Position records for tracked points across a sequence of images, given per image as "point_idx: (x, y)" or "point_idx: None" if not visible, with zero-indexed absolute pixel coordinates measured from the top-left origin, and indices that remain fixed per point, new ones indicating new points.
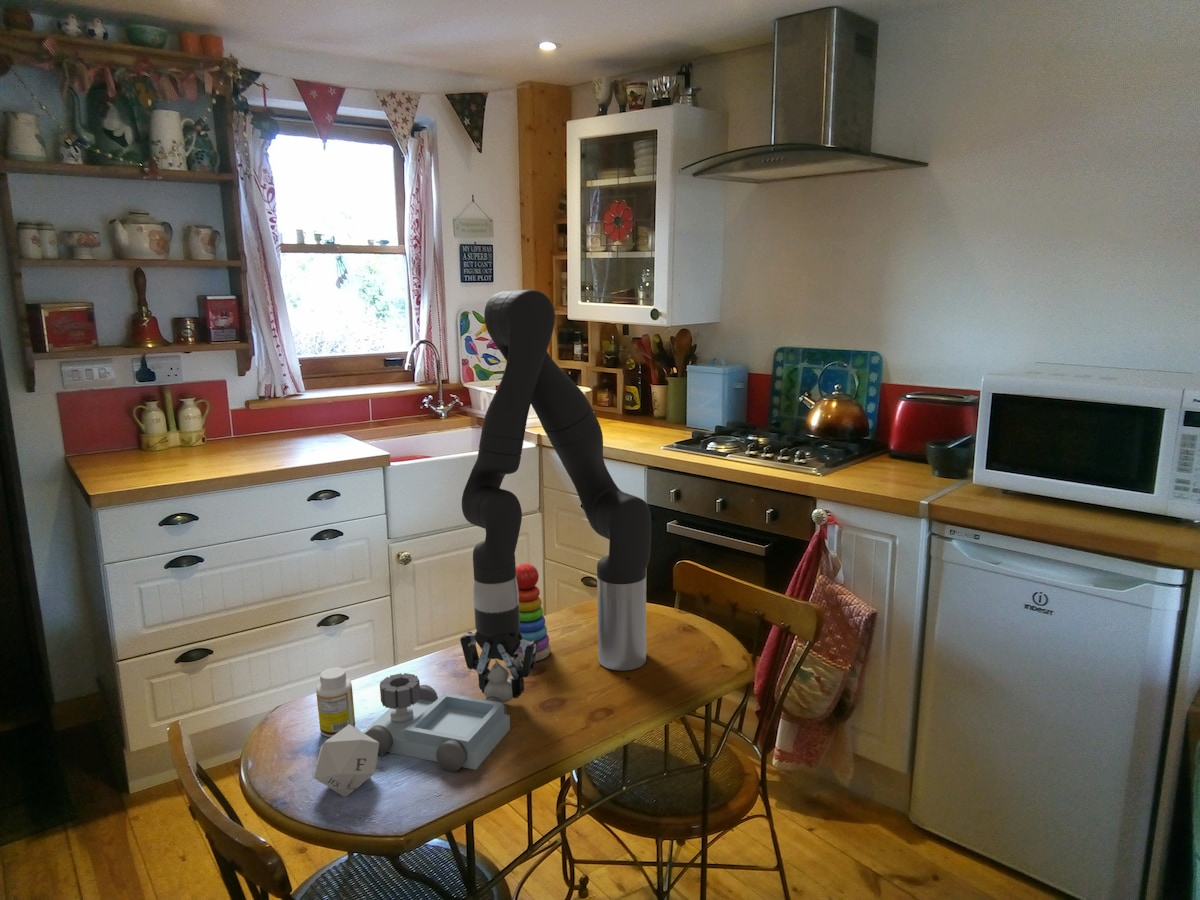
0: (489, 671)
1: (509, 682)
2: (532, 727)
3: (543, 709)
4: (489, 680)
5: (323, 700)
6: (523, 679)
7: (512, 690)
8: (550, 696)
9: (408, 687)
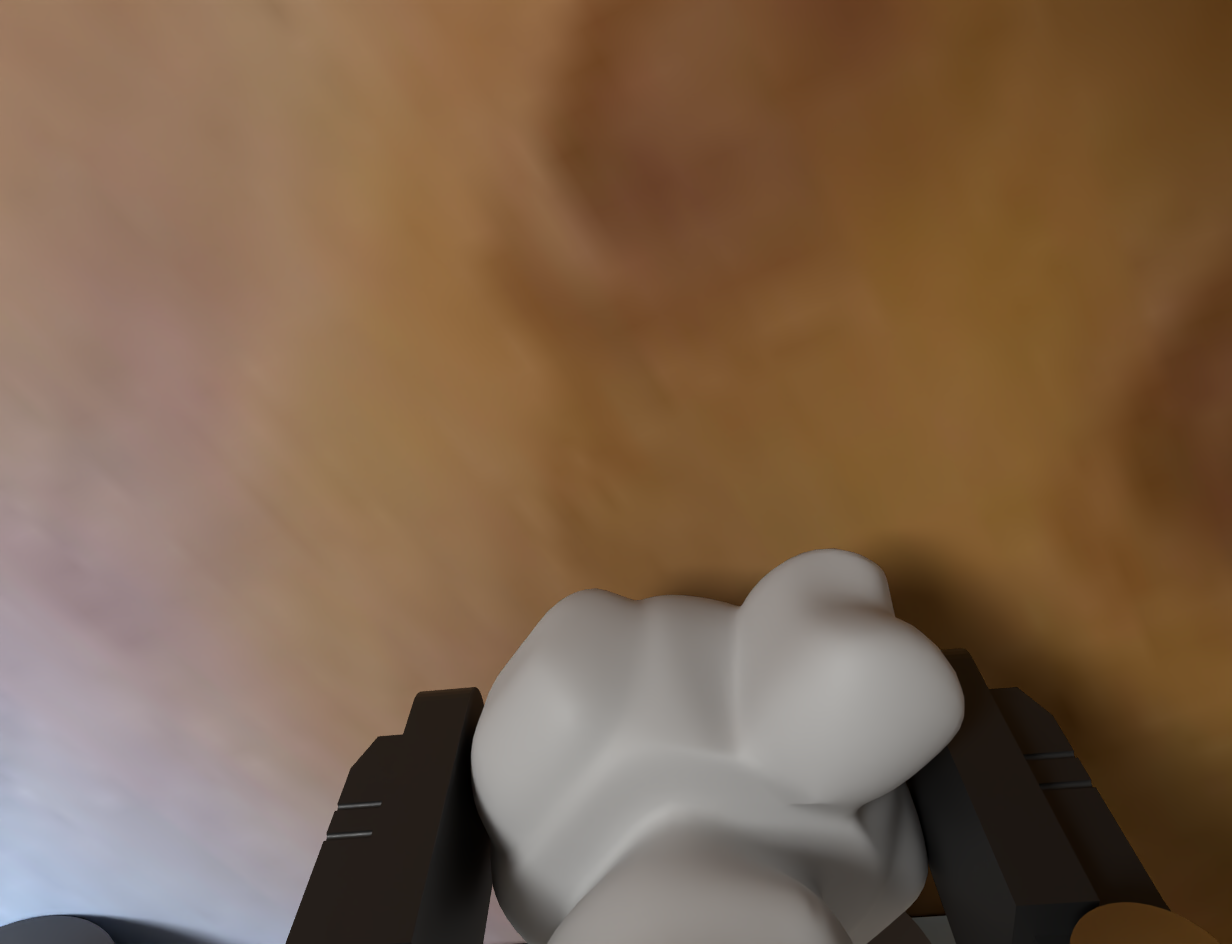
0: (423, 932)
1: (847, 850)
2: (1181, 831)
3: (1207, 532)
4: (512, 912)
5: None
6: (1137, 866)
7: (934, 873)
8: (1221, 209)
9: None
